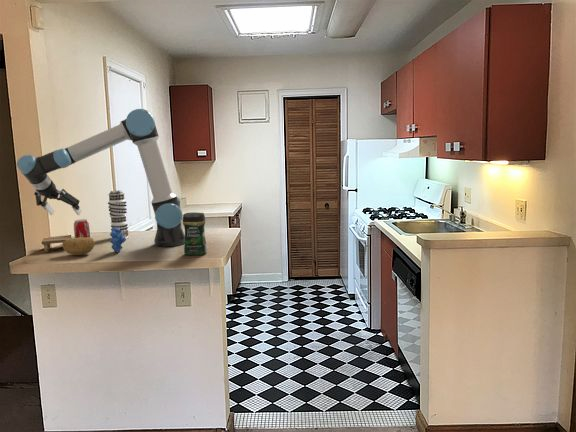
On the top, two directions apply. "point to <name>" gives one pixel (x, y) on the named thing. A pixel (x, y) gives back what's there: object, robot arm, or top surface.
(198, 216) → the coffee jar
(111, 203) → the decorative candle
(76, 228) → the soda can
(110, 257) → the top surface
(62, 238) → the shelf stand
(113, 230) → the grapes
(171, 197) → the robot arm
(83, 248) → the potato
